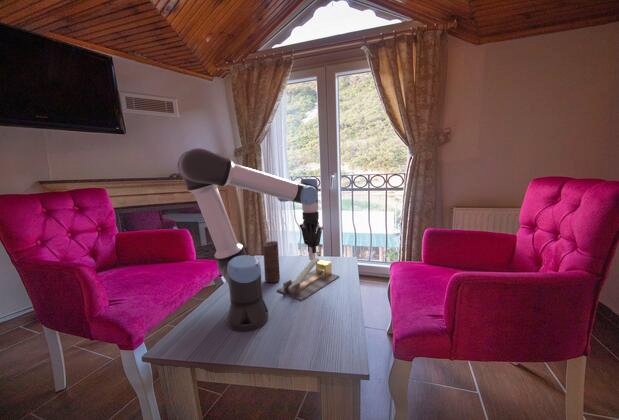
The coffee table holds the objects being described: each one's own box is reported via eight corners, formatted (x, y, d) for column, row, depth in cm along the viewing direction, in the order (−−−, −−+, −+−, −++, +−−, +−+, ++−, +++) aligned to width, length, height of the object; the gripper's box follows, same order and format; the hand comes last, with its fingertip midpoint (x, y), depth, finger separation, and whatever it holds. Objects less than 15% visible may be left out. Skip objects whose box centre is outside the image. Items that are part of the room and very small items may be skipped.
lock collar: (325, 277, 132) (325, 265, 131) (316, 274, 136) (315, 262, 135) (331, 273, 136) (331, 262, 135) (322, 271, 140) (321, 259, 139)
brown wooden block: (279, 284, 128) (276, 244, 124) (263, 284, 128) (261, 245, 124) (280, 277, 135) (278, 239, 132) (266, 277, 135) (264, 240, 132)
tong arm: (293, 293, 116) (292, 290, 115) (288, 291, 118) (286, 288, 117) (319, 260, 129) (318, 257, 128) (314, 259, 131) (312, 256, 130)
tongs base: (301, 301, 111) (300, 289, 111) (276, 291, 121) (276, 280, 120) (339, 276, 134) (339, 267, 133) (316, 270, 143) (315, 261, 142)
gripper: (326, 210, 122) (327, 259, 126) (305, 208, 130) (307, 254, 134) (316, 213, 116) (318, 264, 120) (294, 211, 124) (297, 258, 128)
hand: (312, 259), depth 127 cm, fingers closed
